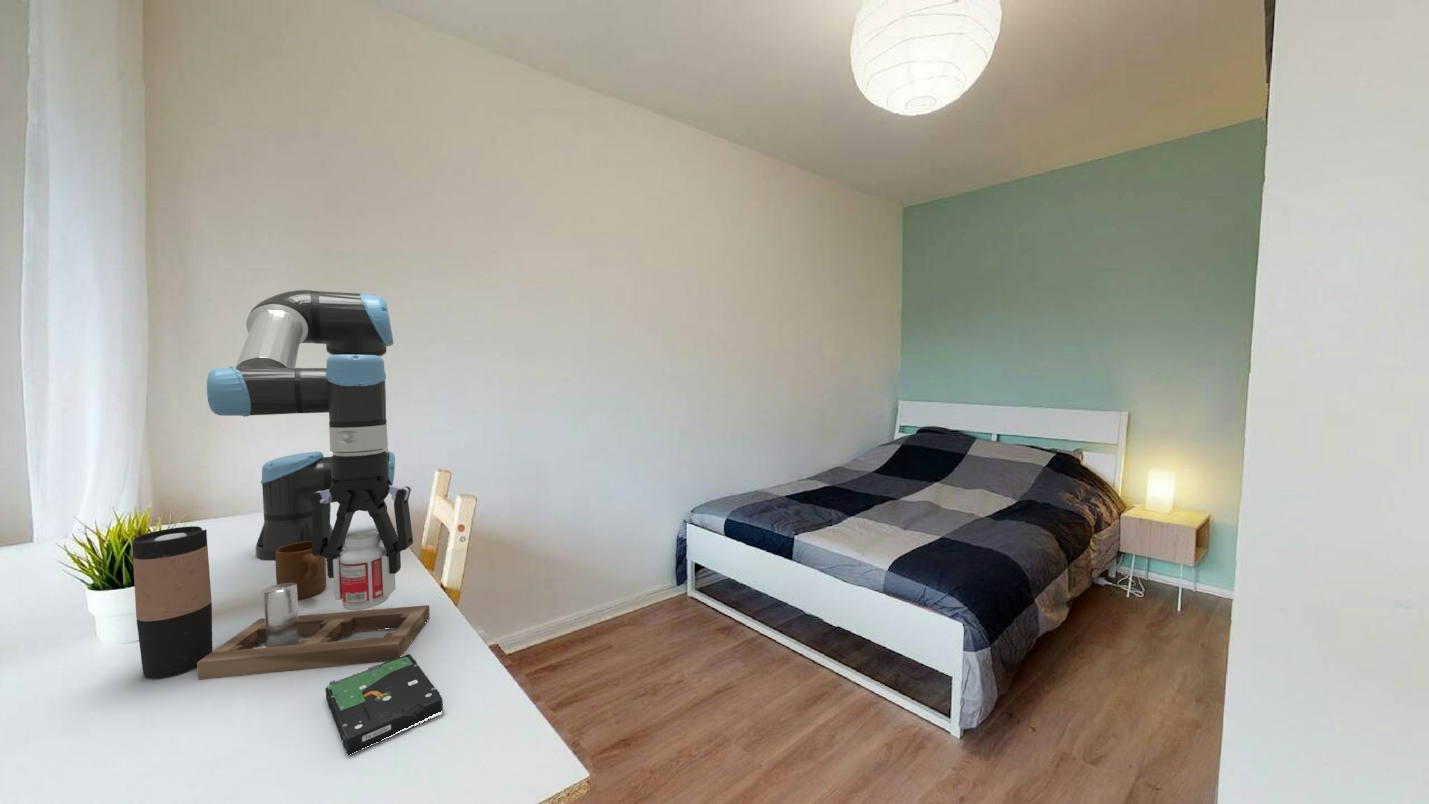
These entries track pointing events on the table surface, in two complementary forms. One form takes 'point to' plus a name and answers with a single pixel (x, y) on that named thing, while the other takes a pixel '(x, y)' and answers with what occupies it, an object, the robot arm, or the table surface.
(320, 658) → the socket board
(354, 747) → the disk drive
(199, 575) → the travel mug
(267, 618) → the steel peg
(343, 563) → the pill bottle
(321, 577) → the mug
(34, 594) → the table surface
